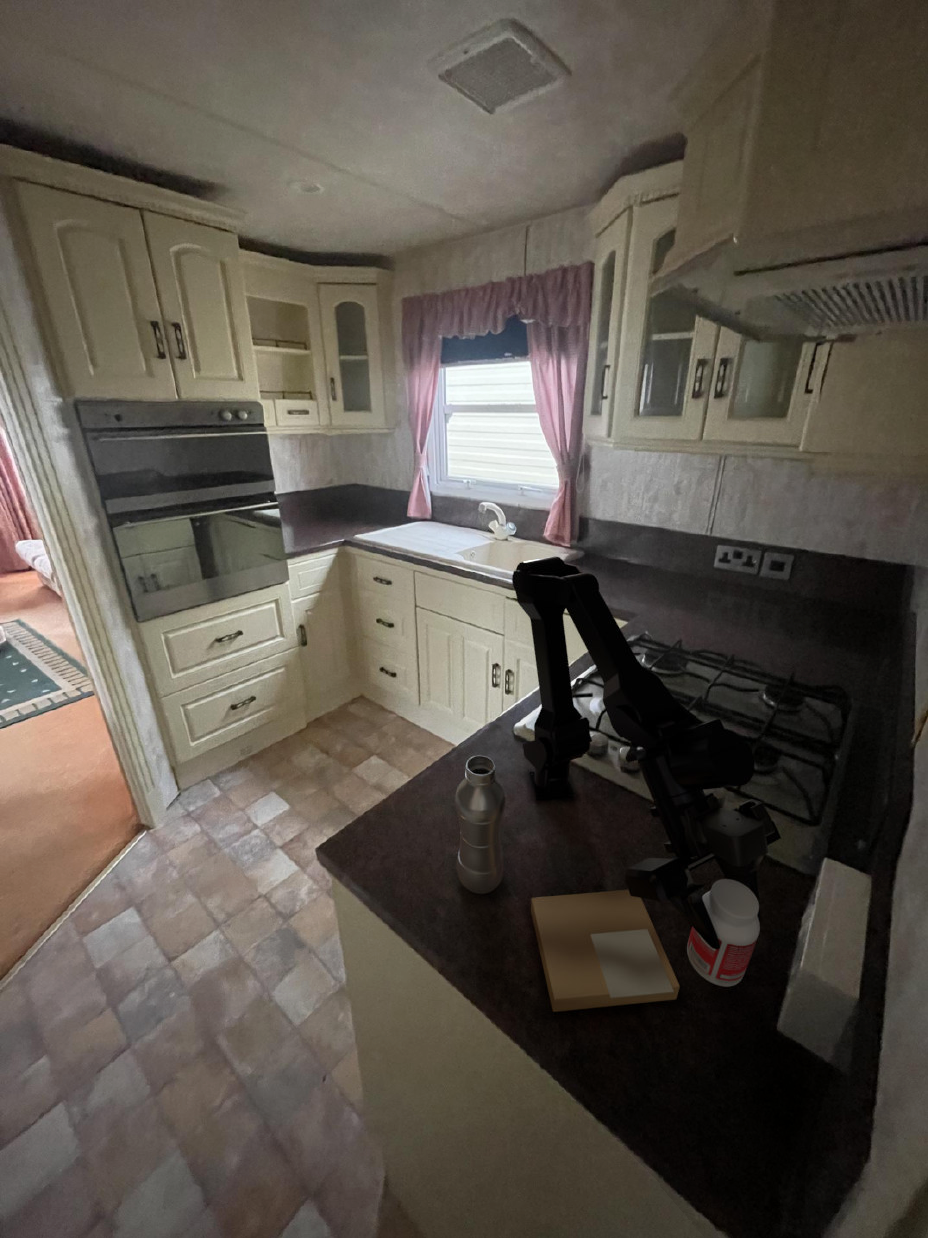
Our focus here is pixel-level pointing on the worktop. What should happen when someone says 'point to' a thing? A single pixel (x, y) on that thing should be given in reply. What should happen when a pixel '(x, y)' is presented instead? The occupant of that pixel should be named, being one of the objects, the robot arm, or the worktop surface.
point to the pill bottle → (726, 933)
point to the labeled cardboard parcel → (600, 951)
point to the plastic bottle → (480, 826)
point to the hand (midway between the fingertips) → (736, 935)
